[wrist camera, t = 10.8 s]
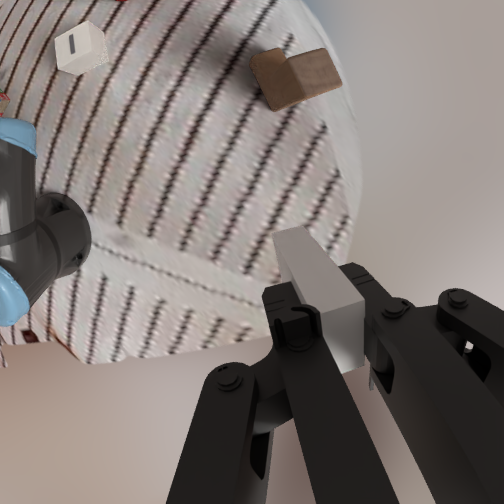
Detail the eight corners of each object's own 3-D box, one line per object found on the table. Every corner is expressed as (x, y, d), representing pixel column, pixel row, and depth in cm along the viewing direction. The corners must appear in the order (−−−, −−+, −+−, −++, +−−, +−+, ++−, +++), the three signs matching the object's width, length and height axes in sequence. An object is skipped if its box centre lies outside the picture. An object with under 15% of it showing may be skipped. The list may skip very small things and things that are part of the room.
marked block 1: (78, 75, 33) (57, 69, 27) (73, 47, 31) (53, 37, 24) (109, 60, 34) (91, 50, 27) (104, 32, 31) (87, 19, 24)
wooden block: (247, 63, 37) (265, 20, 20) (274, 54, 36) (306, 10, 20) (272, 113, 40) (305, 98, 24) (298, 102, 40) (345, 85, 23)
